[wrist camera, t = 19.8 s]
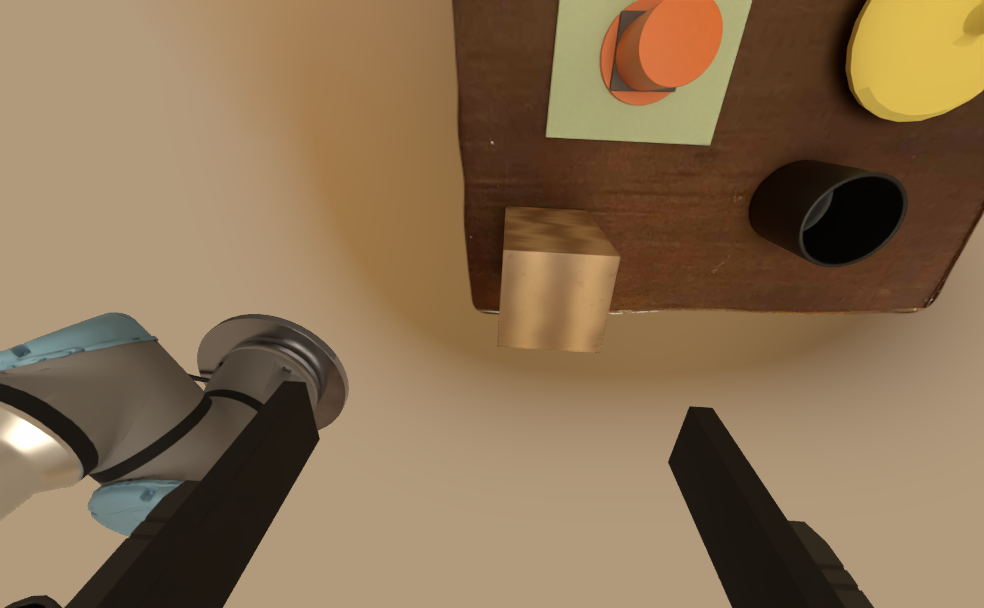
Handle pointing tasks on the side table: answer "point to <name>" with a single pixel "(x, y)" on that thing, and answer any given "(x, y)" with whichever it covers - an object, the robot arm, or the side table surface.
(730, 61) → the mat
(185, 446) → the robot arm
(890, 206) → the mug
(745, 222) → the side table surface
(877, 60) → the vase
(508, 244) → the block
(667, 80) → the hat
